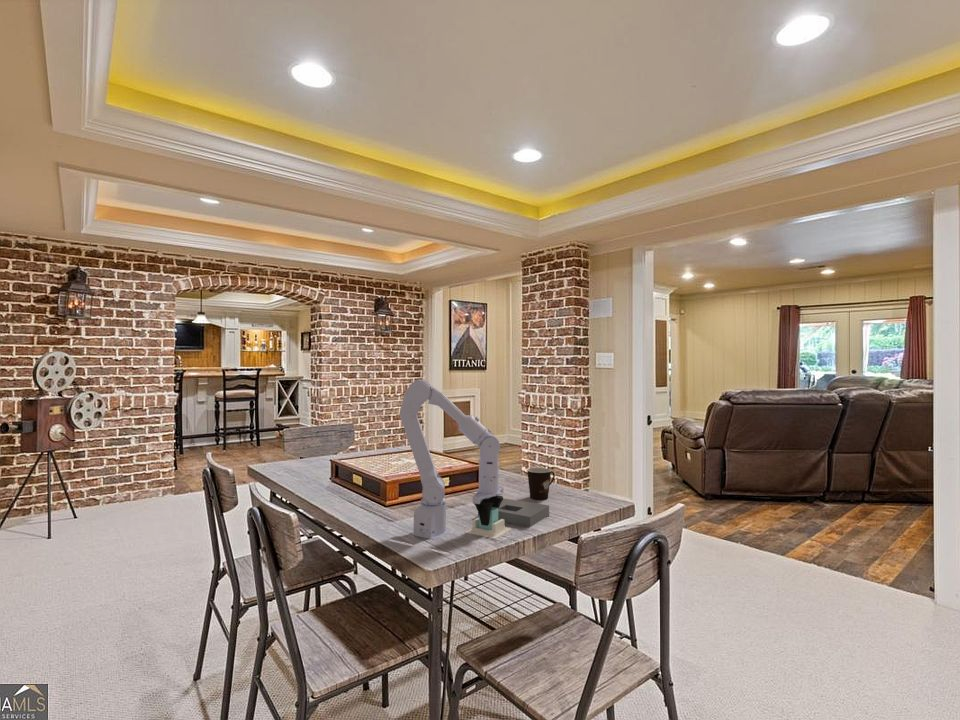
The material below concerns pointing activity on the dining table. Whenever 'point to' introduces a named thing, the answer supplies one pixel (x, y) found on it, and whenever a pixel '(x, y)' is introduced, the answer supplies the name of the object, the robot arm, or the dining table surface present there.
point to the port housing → (522, 512)
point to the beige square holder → (496, 531)
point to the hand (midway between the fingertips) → (488, 523)
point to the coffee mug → (539, 482)
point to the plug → (492, 519)
